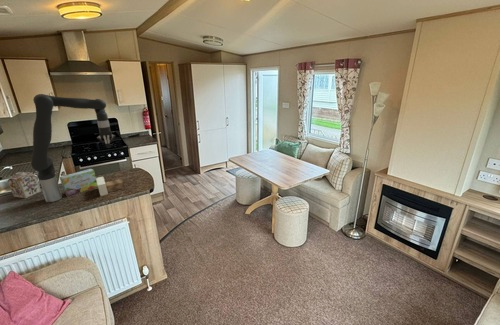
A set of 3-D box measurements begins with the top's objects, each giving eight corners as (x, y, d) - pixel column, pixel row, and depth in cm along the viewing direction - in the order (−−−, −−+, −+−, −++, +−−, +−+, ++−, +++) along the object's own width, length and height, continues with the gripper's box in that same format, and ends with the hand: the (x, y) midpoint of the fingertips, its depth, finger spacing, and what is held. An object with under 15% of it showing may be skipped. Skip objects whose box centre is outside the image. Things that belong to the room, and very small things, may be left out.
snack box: (67, 197, 176) (61, 178, 170) (64, 194, 179) (59, 176, 173) (98, 186, 191) (93, 169, 186) (95, 184, 195) (90, 167, 189)
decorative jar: (25, 198, 173) (17, 176, 167) (13, 197, 175) (4, 175, 169) (42, 191, 184) (34, 170, 178) (30, 189, 186) (22, 168, 180)
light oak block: (107, 192, 182) (106, 186, 180) (106, 188, 188) (104, 182, 186) (124, 188, 189) (123, 182, 187) (123, 184, 195) (121, 178, 193)
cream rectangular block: (100, 196, 177) (97, 185, 173) (98, 188, 189) (96, 178, 185) (108, 194, 179) (105, 183, 176) (105, 186, 191) (103, 176, 188)
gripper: (94, 128, 173) (99, 150, 179) (114, 126, 180) (118, 147, 186) (93, 126, 179) (98, 147, 185) (113, 124, 186) (117, 145, 192)
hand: (108, 147), depth 186 cm, fingers closed
